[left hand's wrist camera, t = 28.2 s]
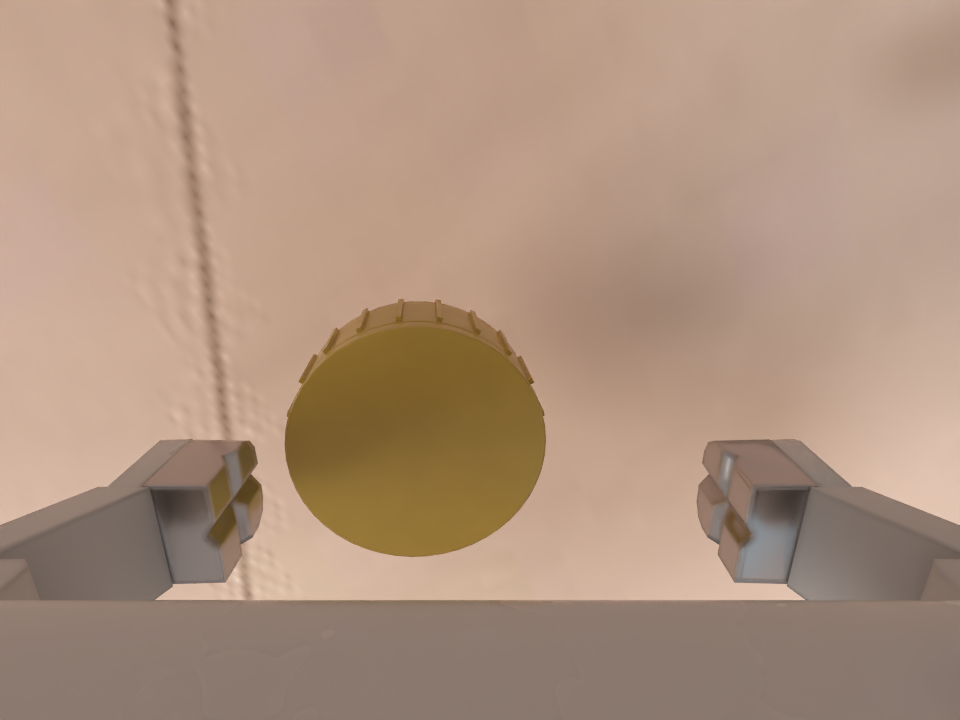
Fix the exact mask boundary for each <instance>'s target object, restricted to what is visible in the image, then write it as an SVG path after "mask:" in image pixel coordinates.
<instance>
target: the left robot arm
mask: <svg viewBox="0 0 960 720" xmlns="http://www.w3.org/2000/svg"><path fill="white" fill-rule="evenodd" d="M257 464H258V462H257V457H256V452H255V447H254V446H253V444H252V443H251V442H250V441H234V440H192V439H178V440H160V441H159V442H158V443H157V444H156V445H155V446H153V447H152V448H151V449H150V450H149V451H148V452H147V453H146V454H144V455H143V456H142V457H141V458H140V459H139V460H138V461H136V462H135V463H134V464H133V465H132V466H131V467H130V468H128V469H127V470H126V471H125V472H124V473H123V474H122V475H120V476H119V477H118V478H117V479H116V480H115V481H114V482H113V483H111V484H110V485H109V486H108V487H97V488H94V489H92V490H89V491H87V492H84V493H81V494H79V495H76V496H74V497H71V498H69V499H66V500H64V501H61V502H58V503H56V504H53V505H51V506H48V507H46V508H43V509H41V510H38V511H35V512H33V513H30V514H28V515H25V516H23V517H20V518H18V519H15V520H12V521H10V522H7V523H5V524H2V525H0V720H960V525H957V524H955V523H952V522H950V521H947V520H945V519H942V518H940V517H937V516H935V515H932V514H929V513H927V512H924V511H922V510H919V509H917V508H914V507H912V506H909V505H907V504H904V503H901V502H899V501H896V500H894V499H891V498H889V497H886V496H884V495H881V494H878V493H876V492H873V491H871V490H868V489H866V488H863V487H852V486H851V485H850V484H849V483H847V482H846V481H845V480H844V479H843V478H842V477H841V476H840V475H838V474H837V473H836V472H835V471H834V470H833V469H832V468H830V467H829V466H828V465H827V464H826V463H825V462H824V461H823V460H821V459H820V458H819V457H818V456H817V455H816V454H815V453H813V452H812V451H811V450H810V449H809V448H808V447H807V446H806V445H804V444H803V443H802V442H801V441H798V440H795V439H782V440H729V441H712V442H708V444H707V446H706V448H705V450H704V456H703V462H702V464H703V465H704V467H705V468H706V470H707V471H708V473H709V475H708V476H707V477H706V478H705V479H704V480H703V481H702V482H701V483H700V484H699V487H698V495H697V509H698V517H699V520H700V523H701V526H702V529H703V530H704V532H705V534H706V536H707V537H708V538H709V539H711V540H713V541H714V542H716V543H718V544H719V550H718V556H719V558H720V559H721V561H722V563H723V564H724V566H725V568H726V569H727V571H728V572H729V574H730V576H731V577H732V579H733V581H734V582H735V583H772V584H787V587H789V588H790V589H792V590H793V591H794V592H796V593H797V594H798V595H800V596H801V597H802V598H804V599H805V600H155V599H156V598H158V597H159V596H160V595H162V594H163V593H165V592H166V591H167V590H169V589H170V588H171V587H173V584H187V583H223V582H226V581H227V579H228V577H229V576H230V574H231V572H232V571H233V569H234V568H235V566H236V564H237V563H238V561H239V559H240V558H241V556H242V550H241V544H242V543H244V542H246V541H247V540H249V539H251V538H252V537H253V536H254V534H255V532H256V530H257V528H258V527H259V523H260V519H261V515H262V511H263V494H262V487H261V484H260V483H259V482H258V481H257V480H256V479H255V478H254V477H253V476H252V475H251V473H252V471H253V470H254V468H255V467H256V465H257Z"/></svg>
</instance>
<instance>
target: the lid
mask: <svg viewBox="0 0 960 720" xmlns="http://www.w3.org/2000/svg"><path fill="white" fill-rule="evenodd" d="M299 382H300V383H302V386H301V387H300V389H299V391H298V393H297V395H296V397H295V399H294V401H293V403H292V405H291V407H290V408H289V410H288V413H287V417H288V420H287V425H286V431H285V453H286V461H287V465H288V469H289V473H290V476H291V479H292V481H293V483H294V486H295V488H296V490H297V492H298V494H299V495H300V497H301V499H302V500H303V502H304V504H305V505H306V506H307V507H308V509H309V510H310V511H311V512H312V514H313V515H314V516H315V517H316V518H317V519H318V520H319V521H320V522H322V523H323V524H324V525H325V526H326V527H327V528H329V529H330V530H331V531H333V532H334V533H335V534H337V535H339V536H340V537H342V538H344V539H346V540H347V541H349V542H351V543H353V544H356V545H358V546H360V547H363V548H365V549H369V550H372V551H375V552H379V553H384V554H389V555H395V556H408V557H417V556H431V555H438V554H444V553H448V552H452V551H456V550H459V549H462V548H464V547H467V546H470V545H472V544H474V543H476V542H478V541H480V540H482V539H484V538H486V537H487V536H489V535H491V534H492V533H494V532H495V531H497V530H498V529H499V528H501V527H502V526H503V525H504V524H505V523H507V522H508V521H509V520H510V519H511V518H512V517H513V516H514V515H515V514H516V513H517V512H518V511H519V509H520V508H521V507H522V506H523V504H524V503H525V501H526V500H527V499H528V497H529V496H530V494H531V492H532V490H533V488H534V486H535V485H536V482H537V480H538V477H539V475H540V472H541V469H542V465H543V460H544V456H545V445H546V434H545V423H544V419H543V416H544V411H543V409H542V407H541V404H540V402H539V400H538V398H537V396H536V394H535V392H534V390H533V388H532V386H531V384H532V383H534V381H533V379H532V377H531V375H530V373H529V371H528V369H527V367H526V365H525V363H524V361H523V359H522V357H521V356H519V357H517V356H516V354H515V352H514V351H513V349H512V348H511V347H510V345H509V344H508V342H507V340H506V338H505V335H504V333H503V332H502V331H501V330H499V331H498V332H497V331H496V330H495V329H494V328H492V327H491V326H490V325H488V324H487V323H486V322H484V321H483V320H481V319H479V318H478V317H477V316H476V313H475V312H474V311H472V310H471V311H470V313H468V312H466V311H463V310H461V309H458V308H455V307H452V306H448V305H444V304H441V300H436V301H435V303H432V302H404V299H399V300H398V303H395V304H391V305H387V306H383V307H379V308H377V309H374V310H372V311H369V310H368V309H365V310H363V312H362V314H361V316H359V317H357V318H355V319H353V320H352V321H350V322H349V323H348V324H346V325H345V326H344V327H342V328H341V329H340V330H338V329H337V328H335V329H334V330H333V332H332V334H331V335H330V337H329V339H328V341H327V343H326V344H325V346H324V347H323V348H322V350H321V351H320V352H319V354H318V356H316V355H315V354H314V355H313V356H312V358H311V360H310V362H309V364H308V365H307V367H306V369H305V371H304V373H303V375H302V376H301V378H300V380H299Z"/></svg>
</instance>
